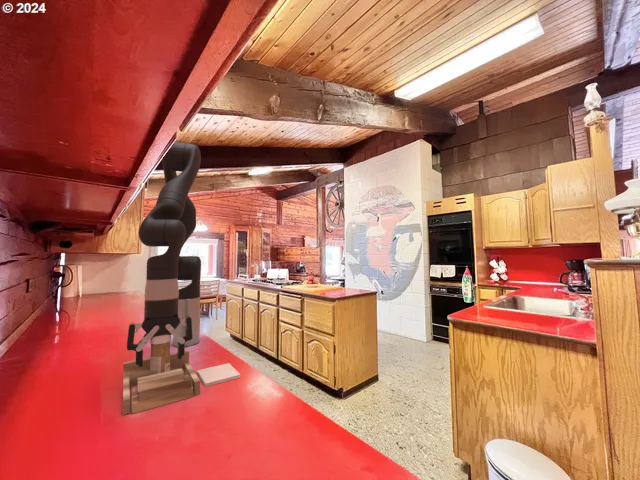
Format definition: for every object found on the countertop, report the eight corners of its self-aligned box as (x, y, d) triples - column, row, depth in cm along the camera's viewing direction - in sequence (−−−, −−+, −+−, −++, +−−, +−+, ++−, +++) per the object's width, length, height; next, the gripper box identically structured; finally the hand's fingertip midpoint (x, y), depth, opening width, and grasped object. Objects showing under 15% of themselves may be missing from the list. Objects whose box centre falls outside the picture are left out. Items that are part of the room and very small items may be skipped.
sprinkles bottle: (173, 387, 70) (174, 333, 71) (154, 394, 67) (155, 337, 67) (165, 382, 73) (165, 330, 74) (146, 389, 69) (147, 334, 70)
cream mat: (197, 373, 78) (197, 370, 78) (229, 365, 84) (229, 363, 84) (205, 386, 70) (205, 383, 70) (240, 377, 75) (240, 374, 75)
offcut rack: (123, 386, 71) (123, 362, 71) (187, 371, 80) (188, 350, 80) (122, 416, 58) (123, 386, 58) (200, 394, 66) (200, 368, 67)
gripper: (189, 293, 78) (188, 352, 77) (128, 298, 70) (126, 364, 69) (194, 295, 72) (194, 359, 71) (128, 301, 64) (126, 374, 63)
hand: (160, 361), depth 70 cm, fingers open, 8 cm apart
